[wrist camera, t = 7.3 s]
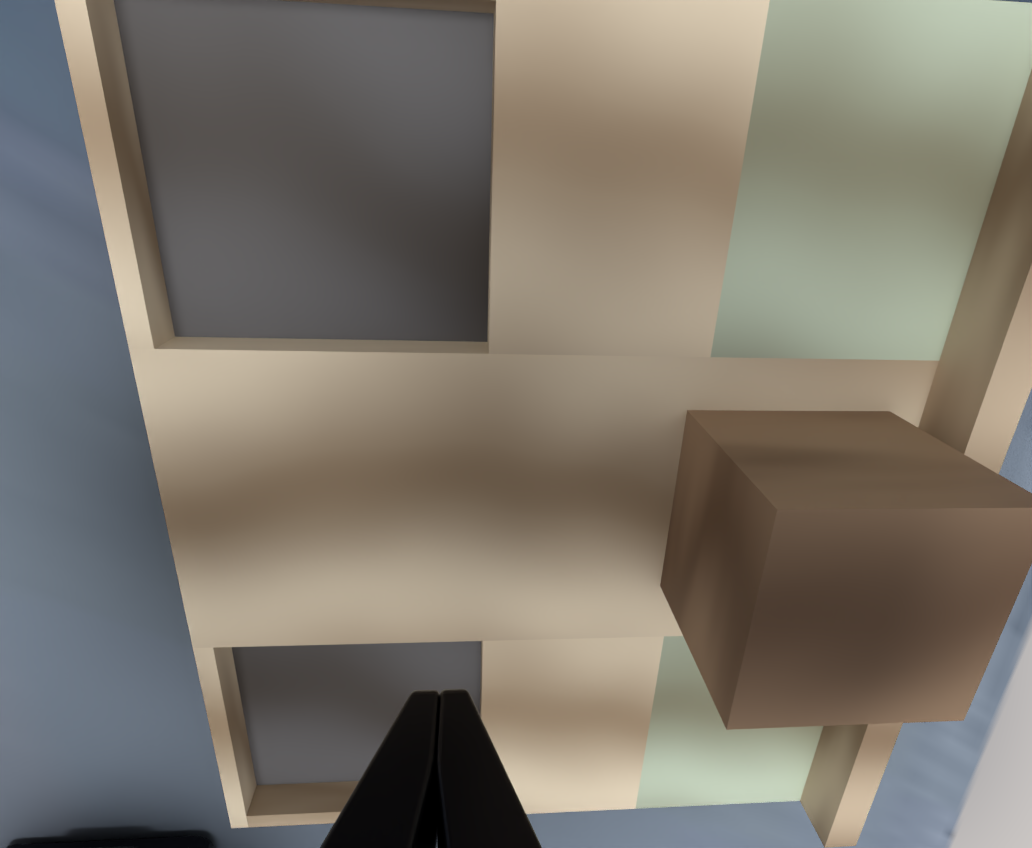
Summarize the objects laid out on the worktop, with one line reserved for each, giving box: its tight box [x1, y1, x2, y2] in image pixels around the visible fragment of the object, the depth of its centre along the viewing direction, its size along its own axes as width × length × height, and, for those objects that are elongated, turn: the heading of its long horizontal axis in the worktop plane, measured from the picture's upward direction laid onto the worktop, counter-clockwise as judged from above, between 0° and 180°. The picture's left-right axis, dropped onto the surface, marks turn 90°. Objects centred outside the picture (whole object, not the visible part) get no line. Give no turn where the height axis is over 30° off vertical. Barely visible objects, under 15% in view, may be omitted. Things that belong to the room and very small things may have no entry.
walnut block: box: [660, 410, 1032, 730], centre depth 13 cm, size 5×5×4 cm
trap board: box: [55, 0, 1032, 847], centre depth 15 cm, size 22×19×3 cm
